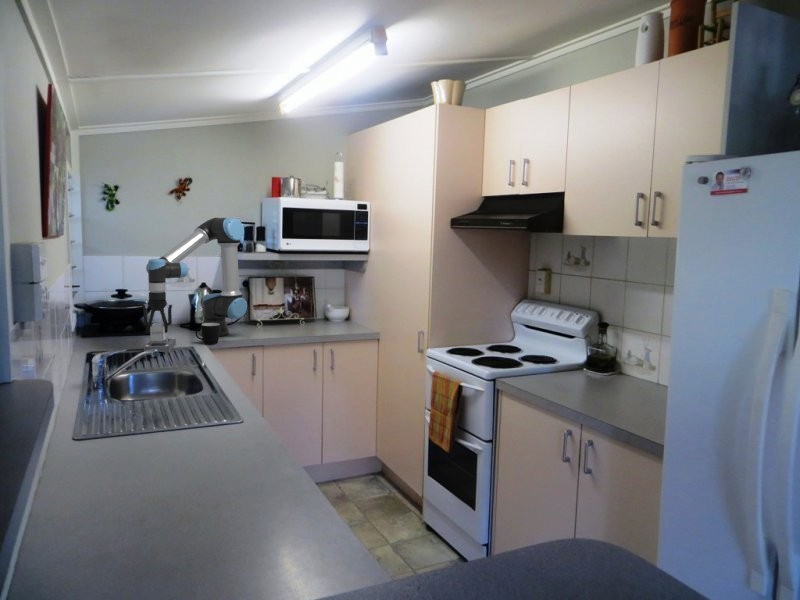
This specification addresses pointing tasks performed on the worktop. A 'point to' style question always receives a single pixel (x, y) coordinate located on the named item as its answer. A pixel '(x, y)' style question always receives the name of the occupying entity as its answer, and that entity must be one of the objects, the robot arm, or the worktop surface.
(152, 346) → the grey blocky piece
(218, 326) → the mug
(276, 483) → the worktop surface
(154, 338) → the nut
